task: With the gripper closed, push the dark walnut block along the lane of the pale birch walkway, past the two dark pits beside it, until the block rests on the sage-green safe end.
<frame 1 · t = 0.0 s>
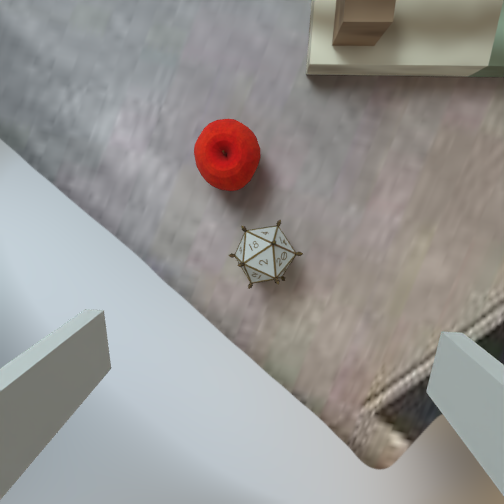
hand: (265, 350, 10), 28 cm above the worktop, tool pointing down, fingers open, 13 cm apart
apple: (232, 158, 35), on the worktop
game die: (265, 246, 38), on the worktop
block: (355, 21, 28), point 3 cm above the worktop, touching walkway
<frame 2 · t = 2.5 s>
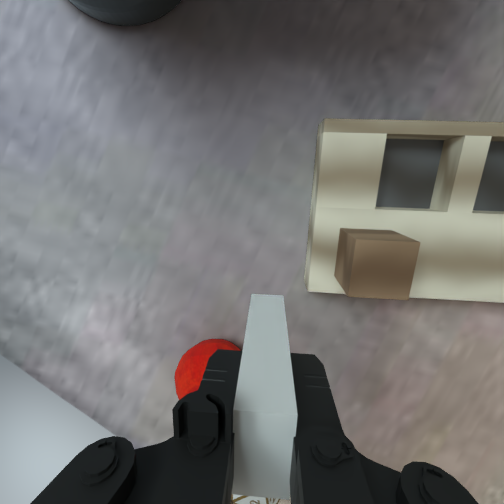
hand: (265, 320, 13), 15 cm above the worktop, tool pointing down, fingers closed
apple: (220, 353, 31), on the worktop
walkway: (442, 214, 25), on the worktop
game die: (258, 434, 34), on the worktop
block: (362, 253, 24), point 3 cm above the worktop, touching walkway
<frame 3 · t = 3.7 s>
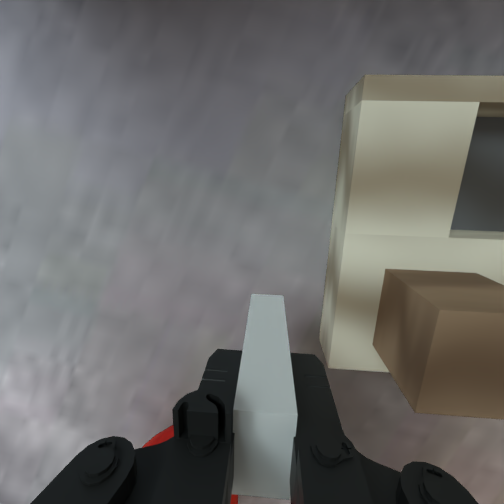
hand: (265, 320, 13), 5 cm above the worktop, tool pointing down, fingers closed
apple: (195, 436, 22), on the worktop
block: (421, 310, 14), point 3 cm above the worktop, touching walkway
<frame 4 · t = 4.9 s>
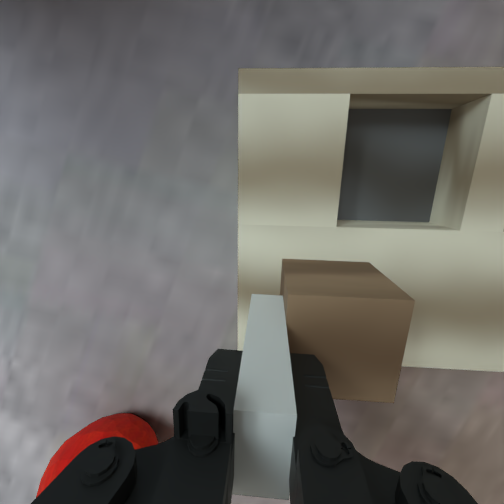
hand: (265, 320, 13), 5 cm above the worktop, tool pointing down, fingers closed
apple: (134, 428, 22), on the worktop
walkway: (449, 230, 16), on the worktop
block: (321, 299, 14), point 3 cm above the worktop, touching gripper, walkway
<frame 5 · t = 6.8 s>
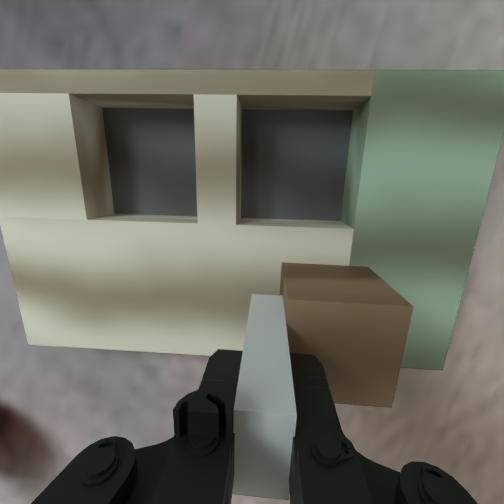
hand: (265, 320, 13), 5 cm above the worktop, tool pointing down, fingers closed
walkway: (233, 224, 17), on the worktop
block: (320, 303, 14), point 3 cm above the worktop, touching gripper, walkway
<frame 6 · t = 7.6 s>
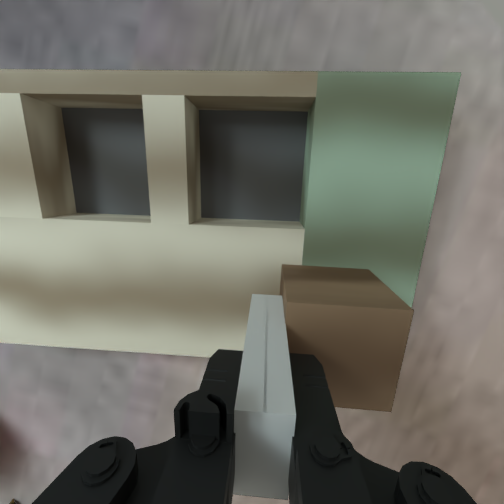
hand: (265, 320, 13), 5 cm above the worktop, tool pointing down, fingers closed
walkway: (195, 224, 17), on the worktop
block: (320, 305, 14), point 3 cm above the worktop, touching gripper, walkway
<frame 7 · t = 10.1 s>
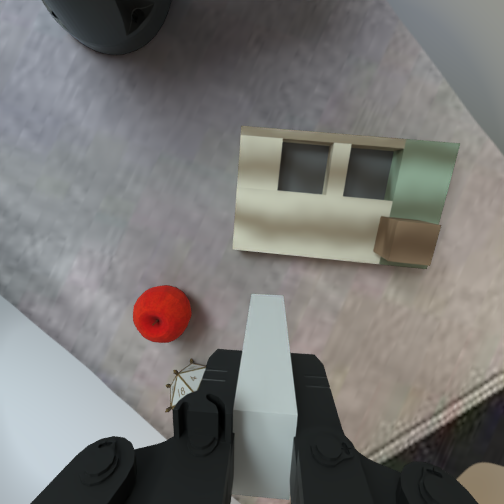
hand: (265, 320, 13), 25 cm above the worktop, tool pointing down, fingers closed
apple: (173, 301, 41), on the worktop
walkway: (332, 199, 35), on the worktop
game die: (202, 371, 43), on the worktop
block: (395, 235, 33), point 3 cm above the worktop, touching walkway
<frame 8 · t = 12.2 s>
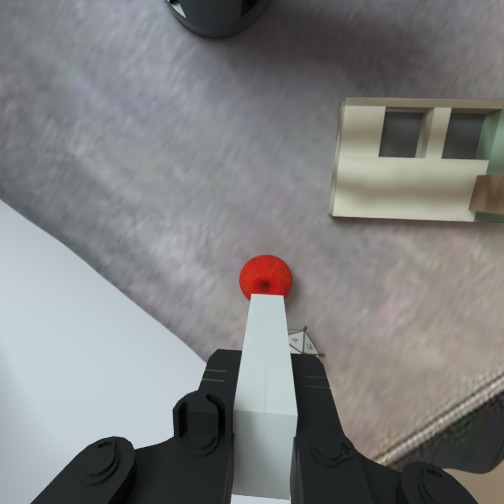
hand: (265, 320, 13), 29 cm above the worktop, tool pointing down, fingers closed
apple: (266, 272, 43), on the worktop
walkway: (423, 164, 37), on the worktop
game die: (291, 338, 46), on the worktop
block: (490, 193, 35), point 3 cm above the worktop, touching walkway
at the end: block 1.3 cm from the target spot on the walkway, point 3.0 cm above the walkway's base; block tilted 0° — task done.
